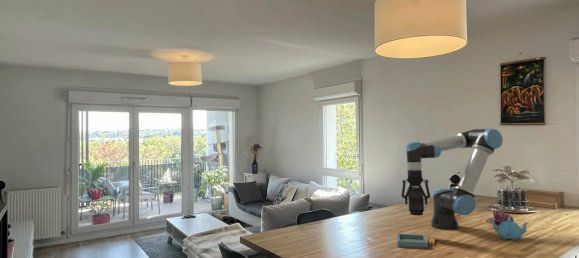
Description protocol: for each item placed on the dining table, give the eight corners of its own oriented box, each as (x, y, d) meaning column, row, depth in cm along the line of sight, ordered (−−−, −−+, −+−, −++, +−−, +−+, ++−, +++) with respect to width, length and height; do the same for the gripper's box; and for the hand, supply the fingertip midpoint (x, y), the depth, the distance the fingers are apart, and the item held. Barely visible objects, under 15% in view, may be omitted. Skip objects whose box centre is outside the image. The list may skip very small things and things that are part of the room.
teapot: (530, 241, 182) (529, 221, 183) (508, 243, 180) (508, 223, 180) (510, 234, 195) (509, 216, 195) (489, 236, 192) (488, 218, 192)
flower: (481, 223, 209) (486, 208, 208) (488, 222, 220) (493, 207, 219) (509, 235, 199) (515, 218, 198) (514, 233, 209) (520, 217, 209)
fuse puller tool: (431, 239, 189) (430, 237, 189) (435, 240, 188) (435, 237, 188) (429, 245, 179) (429, 242, 179) (433, 245, 178) (433, 242, 178)
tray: (425, 240, 188) (424, 234, 188) (428, 248, 174) (427, 242, 174) (396, 238, 192) (396, 233, 192) (397, 246, 178) (397, 240, 178)
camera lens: (406, 213, 200) (405, 186, 201) (420, 212, 201) (418, 186, 201) (412, 216, 192) (411, 188, 193) (426, 215, 193) (425, 188, 193)
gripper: (433, 168, 198) (435, 209, 198) (395, 169, 204) (396, 208, 203) (435, 170, 191) (437, 212, 190) (395, 170, 196) (397, 211, 196)
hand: (416, 210), depth 197 cm, fingers closed on camera lens, 8 cm apart
